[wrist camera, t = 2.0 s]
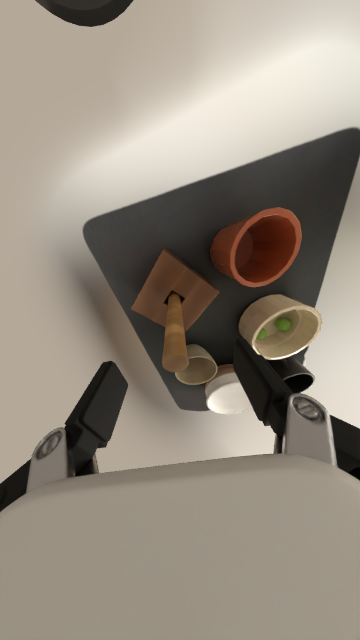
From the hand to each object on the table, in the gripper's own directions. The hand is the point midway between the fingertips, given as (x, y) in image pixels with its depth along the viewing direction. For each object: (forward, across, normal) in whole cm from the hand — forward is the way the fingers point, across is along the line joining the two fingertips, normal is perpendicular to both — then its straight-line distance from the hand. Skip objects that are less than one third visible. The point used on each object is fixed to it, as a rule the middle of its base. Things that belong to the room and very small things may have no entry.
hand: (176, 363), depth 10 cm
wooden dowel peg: (+20, 0, 0) cm, 20 cm away
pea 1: (+18, -18, +14) cm, 29 cm away
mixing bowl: (+20, -20, +12) cm, 31 cm away
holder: (+20, 0, 0) cm, 20 cm away
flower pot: (+20, -1, +18) cm, 27 cm away
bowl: (+20, -11, +31) cm, 39 cm away
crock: (+20, -12, -6) cm, 24 cm away
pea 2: (+18, -24, +12) cm, 32 cm away
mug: (+20, -24, +25) cm, 40 cm away
